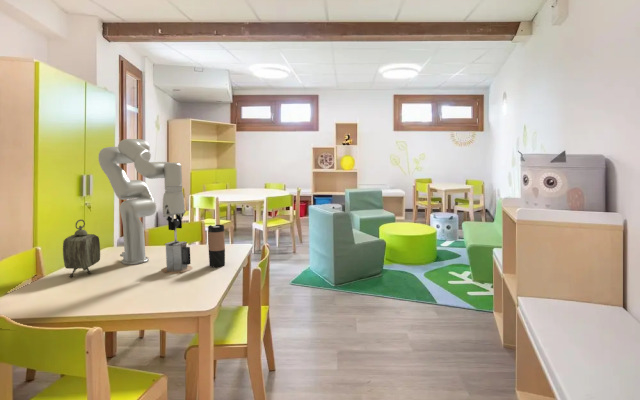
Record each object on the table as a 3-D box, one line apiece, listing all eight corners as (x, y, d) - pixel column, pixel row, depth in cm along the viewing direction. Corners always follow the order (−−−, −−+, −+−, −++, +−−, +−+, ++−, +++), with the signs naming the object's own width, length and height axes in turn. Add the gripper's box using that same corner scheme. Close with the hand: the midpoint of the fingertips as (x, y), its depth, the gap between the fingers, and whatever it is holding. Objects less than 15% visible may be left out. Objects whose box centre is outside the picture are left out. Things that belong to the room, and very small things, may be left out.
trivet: (154, 272, 189) (154, 271, 189) (175, 265, 202) (175, 263, 202) (179, 276, 184) (179, 274, 184) (198, 267, 197) (198, 266, 197)
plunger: (166, 251, 191) (165, 219, 189) (175, 249, 196) (174, 217, 194) (177, 253, 188) (175, 220, 187) (185, 250, 194) (184, 218, 192)
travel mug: (221, 269, 195) (220, 227, 193) (206, 268, 197) (204, 227, 194) (228, 265, 203) (226, 224, 200) (213, 264, 204) (212, 224, 202)
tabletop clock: (83, 269, 195) (79, 217, 192) (102, 269, 195) (99, 217, 192) (64, 278, 180) (60, 222, 177) (85, 278, 180) (81, 222, 178)
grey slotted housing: (162, 270, 191) (161, 243, 189) (175, 265, 199) (174, 240, 197) (183, 273, 187) (182, 246, 185) (195, 268, 195) (194, 242, 193)
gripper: (179, 187, 198) (180, 225, 200) (153, 191, 182) (155, 231, 185) (192, 188, 195) (193, 226, 197) (167, 191, 180) (169, 233, 182)
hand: (175, 228), depth 191 cm, fingers closed on plunger, 4 cm apart
